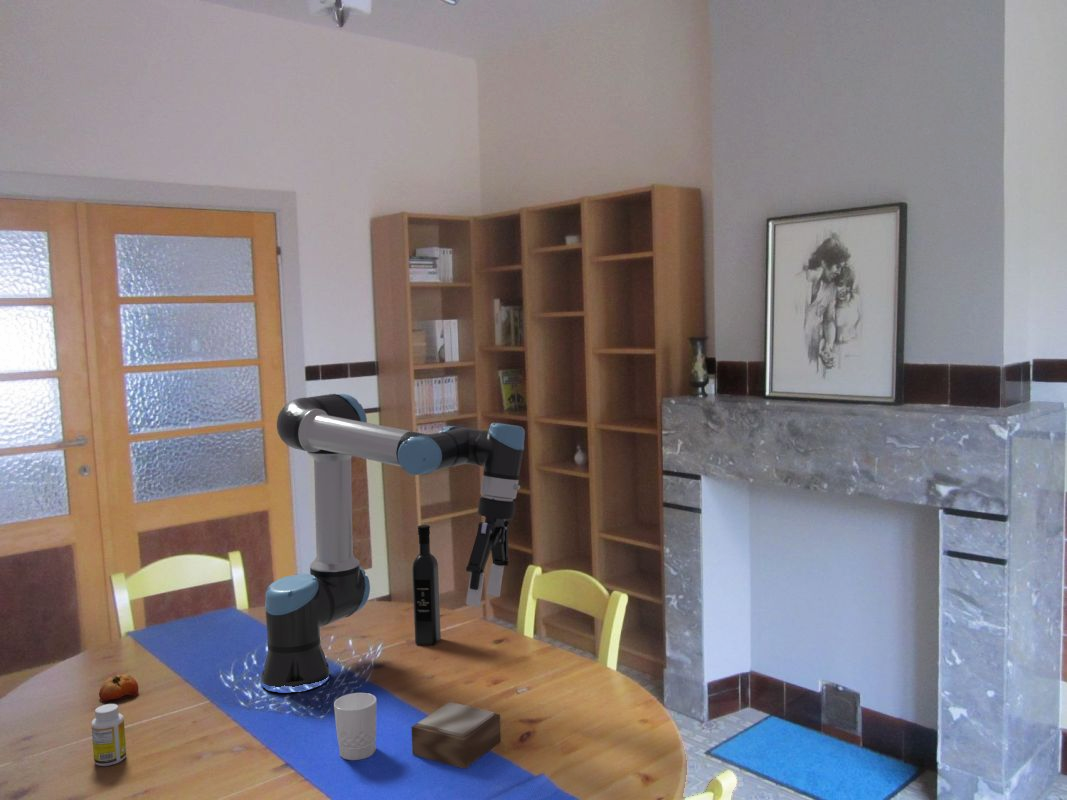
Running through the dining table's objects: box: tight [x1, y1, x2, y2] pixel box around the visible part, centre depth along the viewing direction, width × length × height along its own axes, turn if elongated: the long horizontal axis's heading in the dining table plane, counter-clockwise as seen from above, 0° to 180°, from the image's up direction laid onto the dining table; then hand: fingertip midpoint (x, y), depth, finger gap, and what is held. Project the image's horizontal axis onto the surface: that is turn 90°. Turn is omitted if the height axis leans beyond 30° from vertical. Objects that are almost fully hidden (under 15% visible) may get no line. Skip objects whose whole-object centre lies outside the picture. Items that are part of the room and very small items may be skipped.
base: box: [411, 701, 502, 770], centre depth 170 cm, size 12×12×6 cm
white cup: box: [333, 692, 377, 761], centre depth 169 cm, size 8×8×10 cm
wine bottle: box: [411, 524, 442, 646], centre depth 227 cm, size 6×6×30 cm
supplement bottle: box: [90, 703, 127, 767], centre depth 168 cm, size 6×6×10 cm
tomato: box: [98, 674, 139, 703], centre depth 199 cm, size 8×7×7 cm
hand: (483, 600), depth 184 cm, fingers open, 13 cm apart
